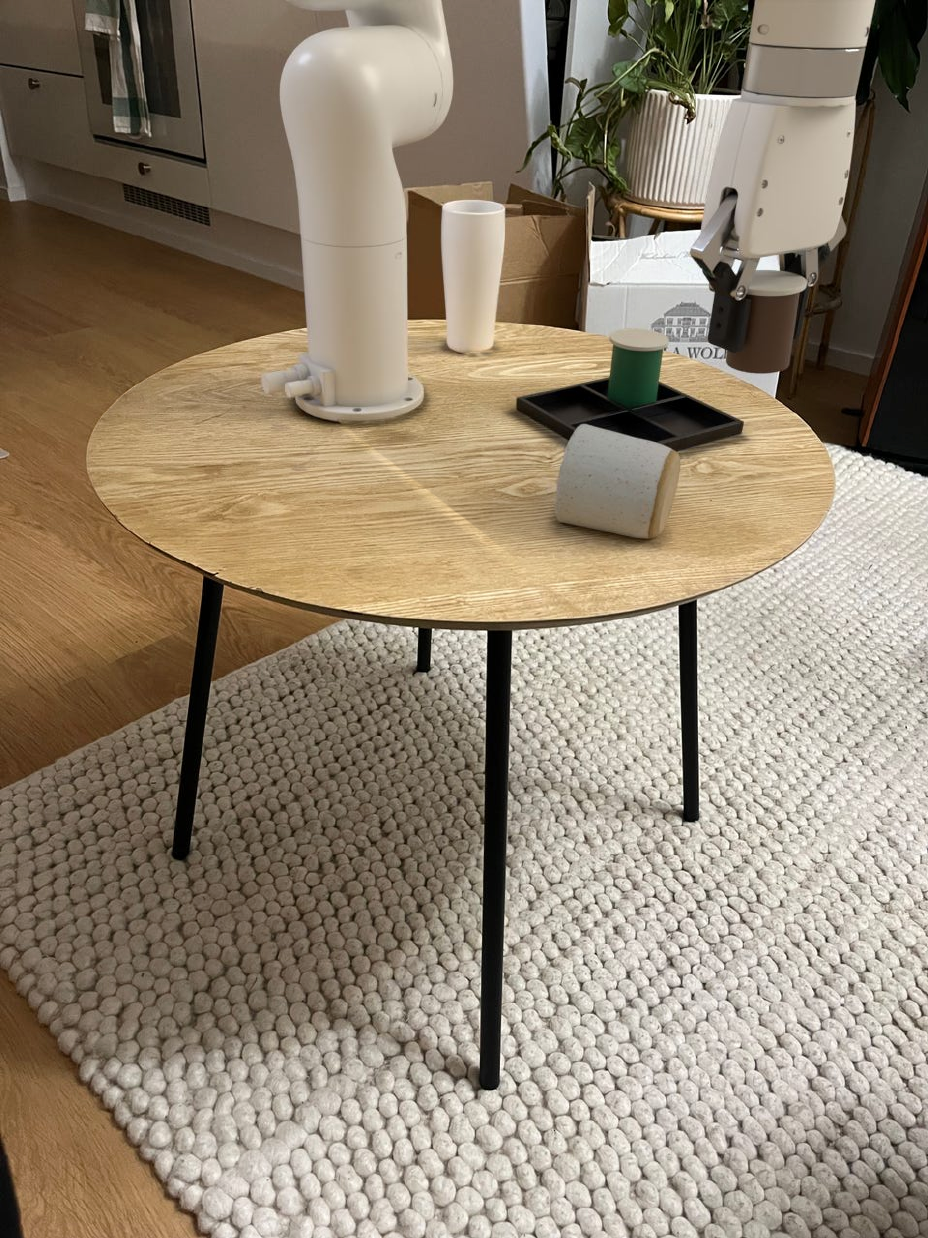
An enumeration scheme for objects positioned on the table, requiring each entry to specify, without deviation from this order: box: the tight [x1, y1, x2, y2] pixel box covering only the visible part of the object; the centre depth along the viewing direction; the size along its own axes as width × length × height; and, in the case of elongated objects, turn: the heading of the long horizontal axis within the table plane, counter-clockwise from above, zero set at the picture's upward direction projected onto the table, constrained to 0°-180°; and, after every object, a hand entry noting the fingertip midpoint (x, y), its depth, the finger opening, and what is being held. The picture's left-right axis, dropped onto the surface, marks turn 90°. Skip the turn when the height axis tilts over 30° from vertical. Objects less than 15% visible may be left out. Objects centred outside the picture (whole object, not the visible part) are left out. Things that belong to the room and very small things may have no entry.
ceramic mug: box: [554, 424, 682, 540], centre depth 77 cm, size 11×8×8 cm
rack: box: [515, 376, 745, 453], centre depth 94 cm, size 15×15×2 cm
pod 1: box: [607, 327, 670, 408], centre depth 97 cm, size 6×6×6 cm
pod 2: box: [725, 269, 807, 375], centre depth 76 cm, size 6×6×6 cm
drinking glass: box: [440, 199, 506, 354], centre depth 108 cm, size 7×7×15 cm
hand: (753, 338), depth 77 cm, fingers closed on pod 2, 5 cm apart
